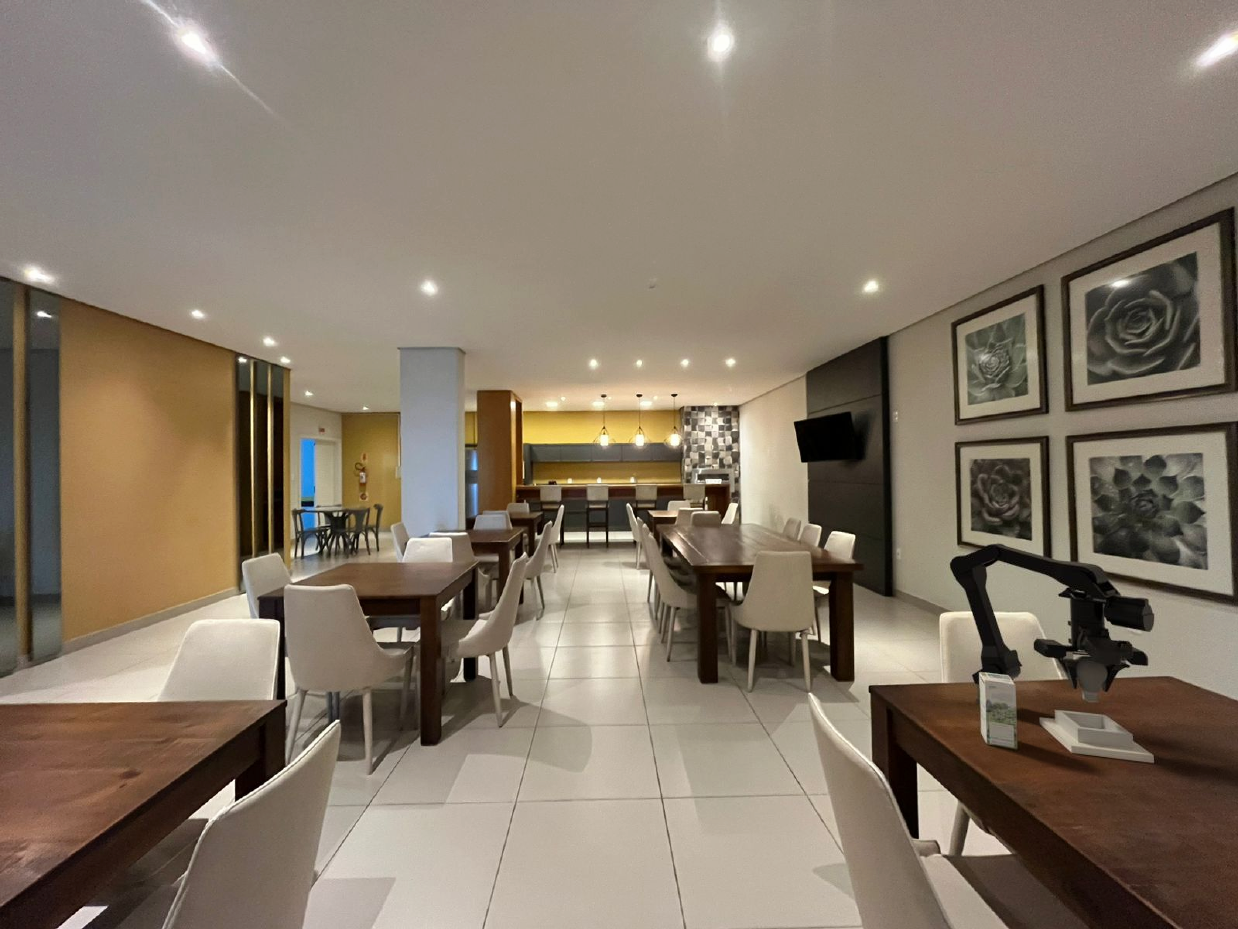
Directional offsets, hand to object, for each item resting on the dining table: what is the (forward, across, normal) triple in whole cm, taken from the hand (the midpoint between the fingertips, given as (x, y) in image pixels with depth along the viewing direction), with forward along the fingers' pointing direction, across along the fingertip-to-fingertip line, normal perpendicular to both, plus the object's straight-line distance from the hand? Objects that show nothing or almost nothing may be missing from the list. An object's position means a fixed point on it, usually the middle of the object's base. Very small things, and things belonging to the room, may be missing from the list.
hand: (1089, 690), depth 115 cm
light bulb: (+3, 0, 0) cm, 3 cm away
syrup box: (+12, -20, -6) cm, 24 cm away
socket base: (+11, 0, 0) cm, 11 cm away
